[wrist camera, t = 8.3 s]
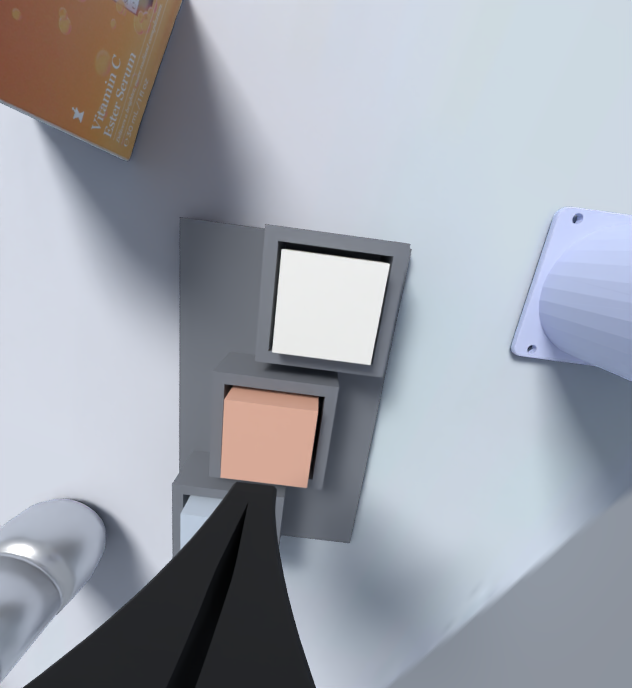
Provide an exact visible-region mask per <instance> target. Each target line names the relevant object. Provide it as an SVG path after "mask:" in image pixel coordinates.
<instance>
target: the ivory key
mask: <svg viewBox="0 0 632 688" xmlns="http://www.w3.org/2000/svg"><path fill="white" fill-rule="evenodd" d="M389 267H390V264H388V263H384V262H381V261H374V260H367V259H359V258H352V257H345V256H337V255H330V254H323V253H315V252H308V251H300V250H293V249H282V251H281V262H280V272H279V283H278V294H277V304H276V315H275V326H274V337H273V347H272V352H273V353H281V354H289V355H296V356H304V357H312V358H320V359H327V360H335V361H343V362H351V363H358V364H366V365H371V360H372V354H373V349H374V344H375V339H376V334H377V329H378V323H379V318H380V313H381V308H382V303H383V298H384V292H385V287H386V282H387V277H388V272H389Z"/></svg>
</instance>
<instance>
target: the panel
mask: <svg viewBox="0 0 632 688" xmlns="http://www.w3.org/2000/svg"><path fill="white" fill-rule="evenodd" d="M282 249H293V250H300V251H308V252H315V253H323V254H330V255H337V256H345V257H352V258H359V259H367V260H374V261H381V262H384V263H388V264H390V267H389V272H388V277H387V282H386V287H385V292H384V298H383V303H382V308H381V313H380V318H379V323H378V329H377V334H376V339H375V344H374V349H373V354H372V360H371V365H366V364H358V363H351V362H343V361H335V360H327V359H320V358H312V357H304V356H296V355H289V354H281V353H273V352H272V347H273V337H274V326H275V315H276V304H277V294H278V283H279V272H280V262H281V251H282ZM411 250H412V249H410V244H407V243H400V242H393V241H385V240H378V239H371V238H364V237H356V236H349V235H342V234H334V233H327V232H320V231H312V230H305V229H298V228H290V227H283V226H276V225H269V224H265V229H263V228H256V227H249V226H241V225H234V224H227V223H219V222H212V221H205V220H197V219H190V218H183V217H180V382H179V474H178V476H177V477H176V479H175V480H174V482H173V483H172V540H173V558H174V556H175V555H176V554H177V553H178V552H179V551H180V514H181V512H182V510H183V508H184V506H185V505H186V503H187V501H188V499H189V497H190V495H194V496H202V497H211V498H219V499H223V498H224V497H225V496H226V494H227V493H228V491H229V490H230V489H231V487H232V486H233V484H234V483H236V482H244V483H252V484H261V485H270V486H275V488H276V489H277V496H276V506H275V514H276V529H277V537H278V545H279V543H280V536H281V535H285V536H293V537H302V538H310V539H319V540H327V541H336V542H344V543H350V540H351V535H352V530H353V526H354V521H355V516H356V511H357V507H358V502H359V497H360V492H361V488H362V483H363V478H364V473H365V469H366V464H367V459H368V454H369V450H370V445H371V440H372V435H373V431H374V426H375V421H376V416H377V412H378V407H379V402H380V397H381V393H382V388H383V383H384V378H385V374H386V369H387V364H388V359H389V355H390V350H391V345H392V340H393V336H394V331H395V326H396V321H397V317H398V312H399V307H400V302H401V298H402V293H403V288H404V283H405V279H406V274H407V269H408V264H409V260H410V255H411ZM233 385H236V386H244V387H252V388H259V389H267V390H275V391H283V392H291V393H299V394H307V395H315V396H319V399H318V416H317V423H316V430H315V436H314V443H313V450H312V457H311V463H310V470H309V477H308V484H307V488H302V487H294V486H286V485H278V484H269V483H261V482H253V481H245V480H236V479H228V478H220V476H221V455H222V435H223V414H224V399H225V398H226V396H227V394H228V393H229V391H230V390H231V388H232V387H233Z"/></svg>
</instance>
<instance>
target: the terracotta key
mask: <svg viewBox="0 0 632 688" xmlns="http://www.w3.org/2000/svg"><path fill="white" fill-rule="evenodd" d="M318 399H319V396H315V395H307V394H299V393H291V392H283V391H275V390H267V389H259V388H252V387H244V386H236V385H233V387H232V388H231V390H230V391H229V393H228V394H227V396H226V398H225V399H224V414H223V435H222V455H221V476H220V478H228V479H236V480H245V481H253V482H261V483H269V484H278V485H286V486H294V487H302V488H307V484H308V477H309V470H310V463H311V457H312V450H313V443H314V436H315V430H316V423H317V416H318Z"/></svg>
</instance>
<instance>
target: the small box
mask: <svg viewBox="0 0 632 688" xmlns="http://www.w3.org/2000/svg"><path fill="white" fill-rule="evenodd" d="M182 1H183V0H0V103H2V104H4V105H6V106H8V107H10V108H12V109H15V110H17V111H19V112H21V113H23V114H25V115H28V116H30V117H32V118H34V119H36V120H38V121H40V122H43V123H45V124H47V125H49V126H51V127H53V128H56V129H58V130H60V131H62V132H64V133H66V134H68V135H71V136H73V137H75V138H77V139H79V140H81V141H84V142H86V143H88V144H90V145H92V146H94V147H96V148H98V149H101V150H103V151H105V152H107V153H109V154H112V155H114V156H116V157H118V158H120V159H122V160H125V161H128V160H129V159H130V157H131V154H132V150H133V146H134V143H135V139H136V136H137V132H138V129H139V125H140V122H141V119H142V116H143V113H144V110H145V107H146V104H147V101H148V98H149V95H150V92H151V90H152V87H153V84H154V81H155V78H156V75H157V72H158V69H159V66H160V63H161V60H162V57H163V55H164V52H165V49H166V46H167V43H168V40H169V37H170V34H171V31H172V28H173V25H174V22H175V19H176V16H177V14H178V12H179V10H180V7H181V4H182Z"/></svg>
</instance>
